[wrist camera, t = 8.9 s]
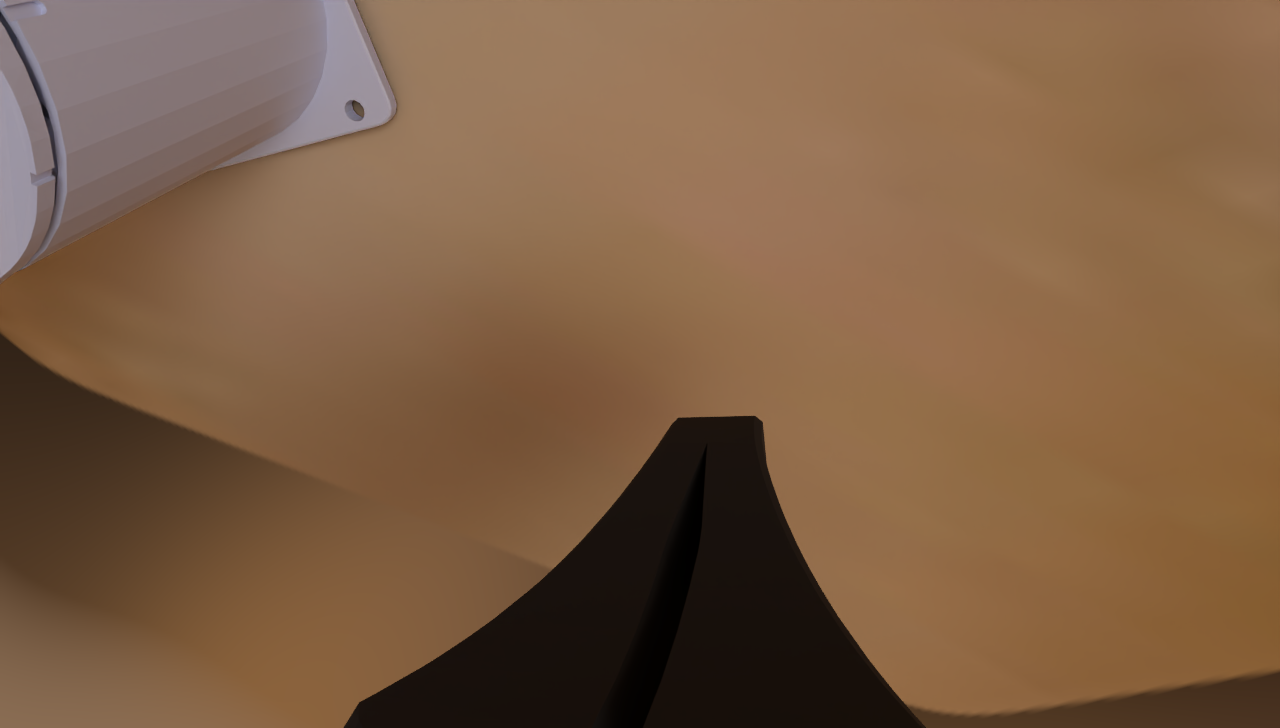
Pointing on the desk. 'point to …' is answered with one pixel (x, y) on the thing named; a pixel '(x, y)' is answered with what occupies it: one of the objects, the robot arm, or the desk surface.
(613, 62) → the desk surface
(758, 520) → the robot arm
